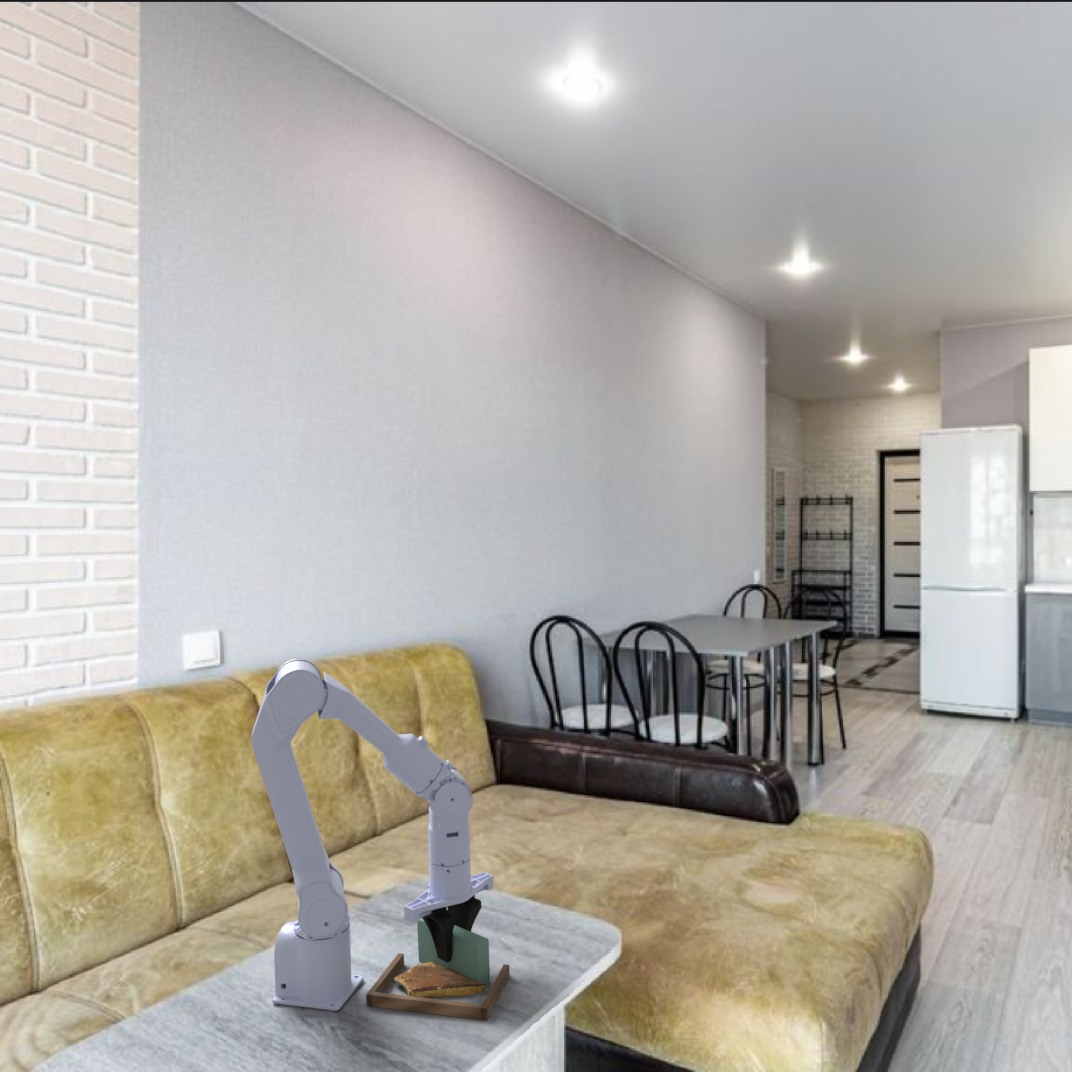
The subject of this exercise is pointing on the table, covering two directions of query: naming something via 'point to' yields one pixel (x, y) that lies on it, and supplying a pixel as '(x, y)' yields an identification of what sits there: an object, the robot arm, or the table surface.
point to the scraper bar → (458, 952)
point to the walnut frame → (432, 1005)
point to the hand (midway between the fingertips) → (451, 955)
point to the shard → (436, 981)
